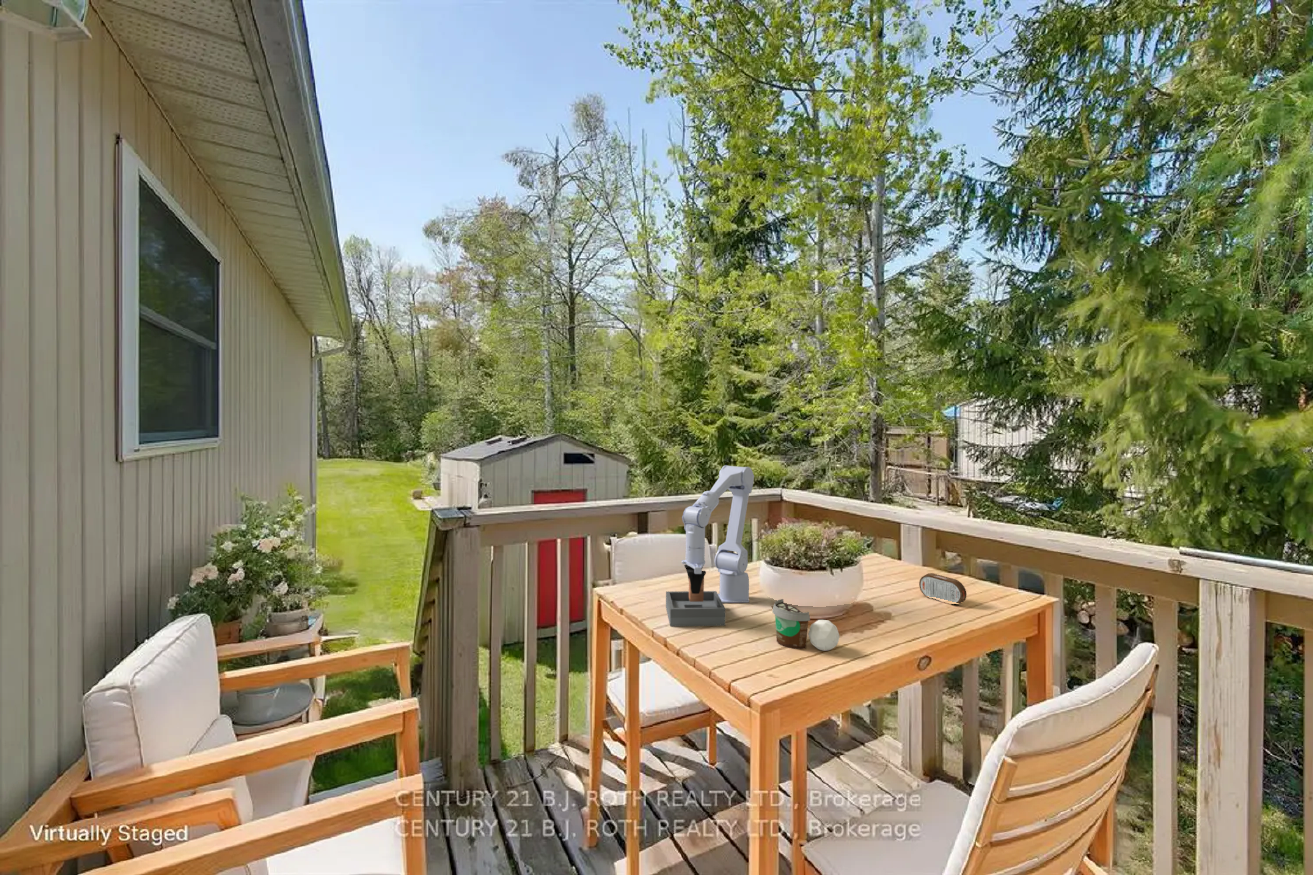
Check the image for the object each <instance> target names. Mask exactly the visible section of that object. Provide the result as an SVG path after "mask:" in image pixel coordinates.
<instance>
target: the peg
mask: <svg viewBox="0 0 1313 875" xmlns="http://www.w3.org/2000/svg"><path fill="white" fill-rule="evenodd" d="M704 587H705V577H704V578H703V580H702V583H701V588H700V592H699V594H692V591H691V584H690V579H688V591H689V600H690V602H703V597H704V591H705V590H704V589H705V588H704Z"/></svg>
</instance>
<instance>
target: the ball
mask: <svg viewBox="0 0 1313 875" xmlns="http://www.w3.org/2000/svg"><path fill="white" fill-rule="evenodd" d="M807 636H808V638H809V640H810V642H809V643H810V644H811V645H813V647H815V648H816V649H817V650H819V651H825V652H826V651H827V652H828V651H830V650H833V649H834V648H835V647H837V645H838V643H839V641H840V633H839V630H838V628H837V626H836V625H835V624H834V623H833V622H832V621H830V620H828V619H827V620H826V619H817V620H816V621H815V622H813V623H811V624H810V627H809V630H808V632H807Z"/></svg>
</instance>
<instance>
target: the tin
mask: <svg viewBox="0 0 1313 875" xmlns="http://www.w3.org/2000/svg"><path fill="white" fill-rule="evenodd" d="M918 583H919V585H918V586H919V590H920V592H921V593H922V595H924V596H925V597H926V596H929V597H936V598H940V599H944V600H948V601H952V602H956V603H960V604H962V603H961V602H963V603H964V602H965V600H967V595H968V594H967V589H966V588H965V586H964V584H963V583H962V582H961V581H959V580H958V579H956V578H953V577H948V576H945V575H941V574H938V573H933V572H929V573H926V574H924V575H922V576H921V577H920V579H919V582H918Z"/></svg>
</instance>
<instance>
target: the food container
mask: <svg viewBox="0 0 1313 875" xmlns="http://www.w3.org/2000/svg"><path fill="white" fill-rule="evenodd" d="M772 614H774V619H775V620H774V621H775V635H776V642H777V644H778V645H780V646H782V647H784V648H789V649H793V650H794V649H795V650H796V649H797V650H801V649H806V648H807V640H808V639H807V637H808V631H809V630H808V628H809V621H811V618H810V617H811V616H810V615H811V614H810V612H809V611H807V612H804V611H801V610H800V609H798V608H797V607H795V606H792V605H790V604H787V603H786V602H784V599H783V598H780V599H778V600H775V602H774V604H773V607H772Z"/></svg>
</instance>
